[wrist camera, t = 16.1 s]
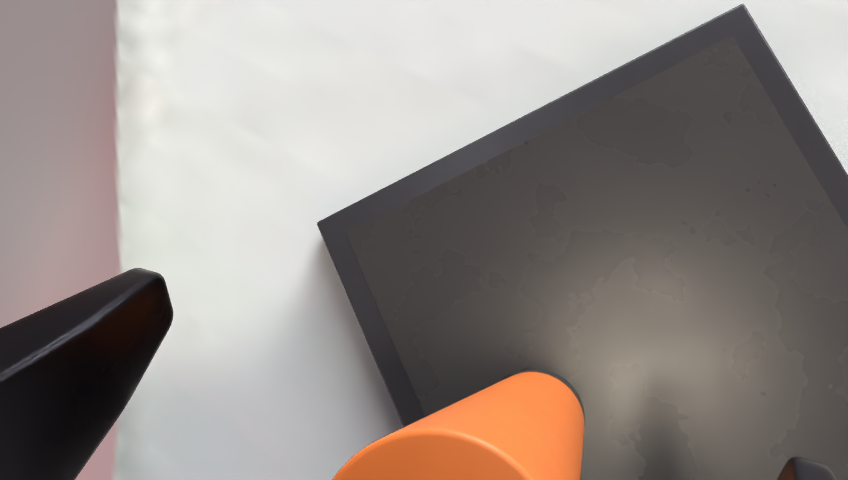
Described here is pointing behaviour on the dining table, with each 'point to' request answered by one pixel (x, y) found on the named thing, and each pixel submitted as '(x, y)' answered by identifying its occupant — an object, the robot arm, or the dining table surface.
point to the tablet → (629, 265)
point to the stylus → (486, 437)
